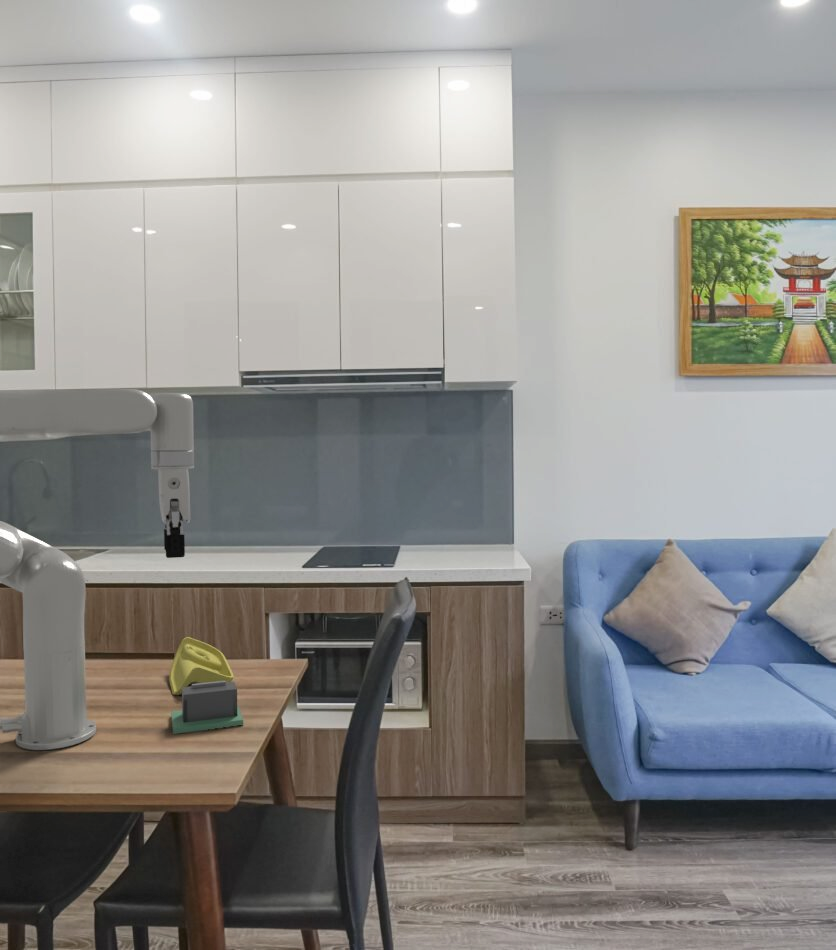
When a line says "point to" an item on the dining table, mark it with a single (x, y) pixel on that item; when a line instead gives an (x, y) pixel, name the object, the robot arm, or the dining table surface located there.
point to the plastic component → (197, 665)
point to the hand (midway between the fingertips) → (174, 553)
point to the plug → (209, 701)
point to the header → (203, 722)
